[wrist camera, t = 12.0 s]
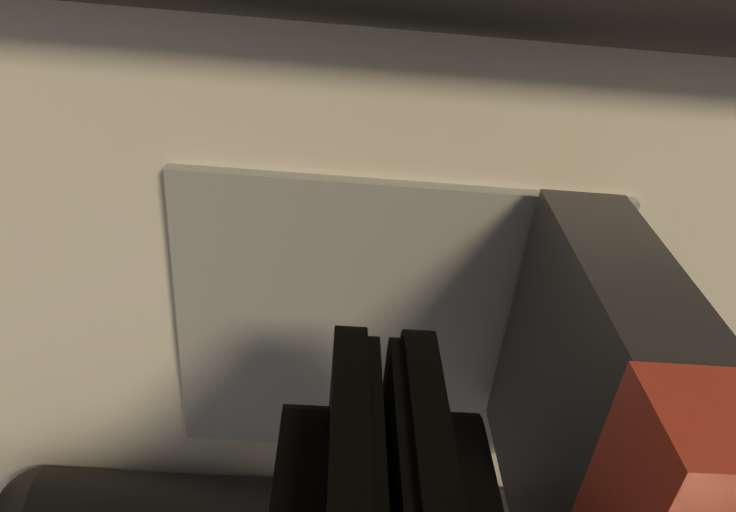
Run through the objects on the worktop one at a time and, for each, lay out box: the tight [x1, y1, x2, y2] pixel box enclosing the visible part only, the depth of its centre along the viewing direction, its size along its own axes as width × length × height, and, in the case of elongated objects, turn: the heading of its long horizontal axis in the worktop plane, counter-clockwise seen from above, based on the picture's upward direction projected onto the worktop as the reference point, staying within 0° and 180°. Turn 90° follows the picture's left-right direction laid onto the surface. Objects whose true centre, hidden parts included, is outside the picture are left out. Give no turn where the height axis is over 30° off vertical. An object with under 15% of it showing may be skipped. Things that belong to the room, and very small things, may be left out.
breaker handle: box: [486, 189, 736, 512], centre depth 11 cm, size 2×6×7 cm, turn 175°
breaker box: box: [0, 0, 736, 512], centre depth 15 cm, size 20×16×7 cm
